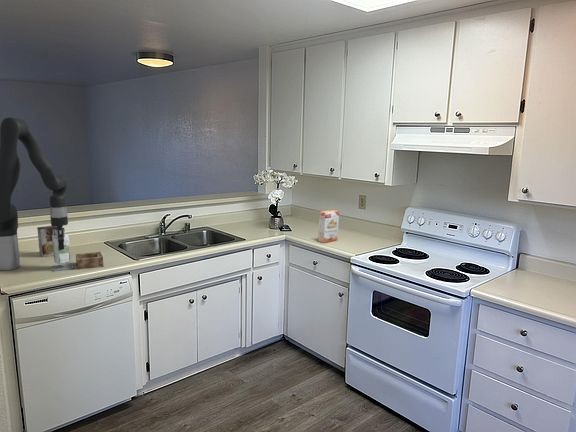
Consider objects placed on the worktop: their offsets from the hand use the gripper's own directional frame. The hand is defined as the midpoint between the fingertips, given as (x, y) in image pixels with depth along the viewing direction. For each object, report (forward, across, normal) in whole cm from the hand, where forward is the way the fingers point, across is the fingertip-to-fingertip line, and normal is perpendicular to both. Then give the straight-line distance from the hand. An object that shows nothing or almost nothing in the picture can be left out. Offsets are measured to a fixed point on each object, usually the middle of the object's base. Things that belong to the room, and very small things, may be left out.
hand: (61, 247), depth 211 cm
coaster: (+11, 0, 0) cm, 11 cm away
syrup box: (+8, 0, 0) cm, 8 cm away
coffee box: (+11, -30, -6) cm, 32 cm away
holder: (+11, 0, +12) cm, 16 cm away
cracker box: (+12, +8, +160) cm, 161 cm away
